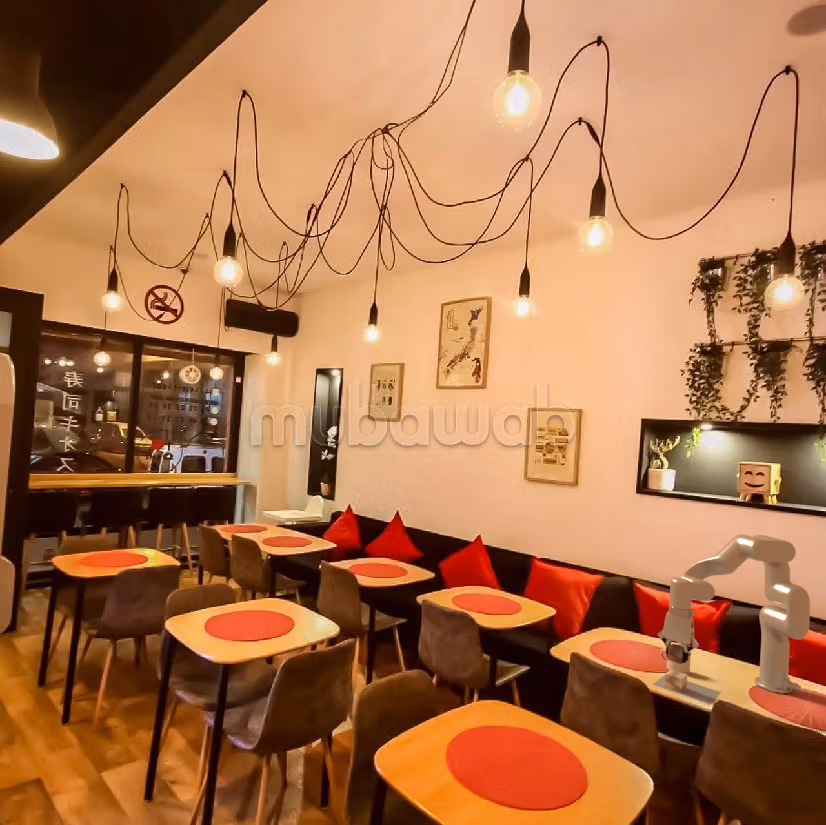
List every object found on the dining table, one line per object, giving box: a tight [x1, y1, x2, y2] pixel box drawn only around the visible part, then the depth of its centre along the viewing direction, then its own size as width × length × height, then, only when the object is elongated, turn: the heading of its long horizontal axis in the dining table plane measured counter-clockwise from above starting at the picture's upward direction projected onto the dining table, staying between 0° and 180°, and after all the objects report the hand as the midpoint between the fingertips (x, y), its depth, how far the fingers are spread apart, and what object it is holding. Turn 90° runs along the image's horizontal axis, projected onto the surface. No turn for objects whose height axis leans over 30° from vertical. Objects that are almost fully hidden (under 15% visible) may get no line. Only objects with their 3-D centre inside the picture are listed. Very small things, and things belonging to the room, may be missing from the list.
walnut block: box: [668, 643, 684, 664], centre depth 214 cm, size 5×5×5 cm
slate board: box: [652, 674, 722, 705], centre depth 214 cm, size 20×15×1 cm
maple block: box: [664, 670, 688, 693], centre depth 214 cm, size 6×6×5 cm
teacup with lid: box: [659, 642, 692, 675], centre depth 233 cm, size 12×9×12 cm
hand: (676, 659), depth 214 cm, fingers closed on walnut block, 4 cm apart
